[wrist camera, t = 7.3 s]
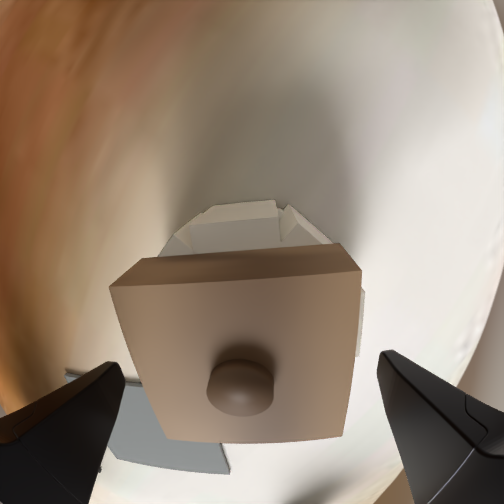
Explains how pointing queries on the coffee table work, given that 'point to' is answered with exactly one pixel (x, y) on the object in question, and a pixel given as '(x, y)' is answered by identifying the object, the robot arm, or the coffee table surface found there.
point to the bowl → (248, 234)
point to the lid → (244, 341)
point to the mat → (157, 438)
